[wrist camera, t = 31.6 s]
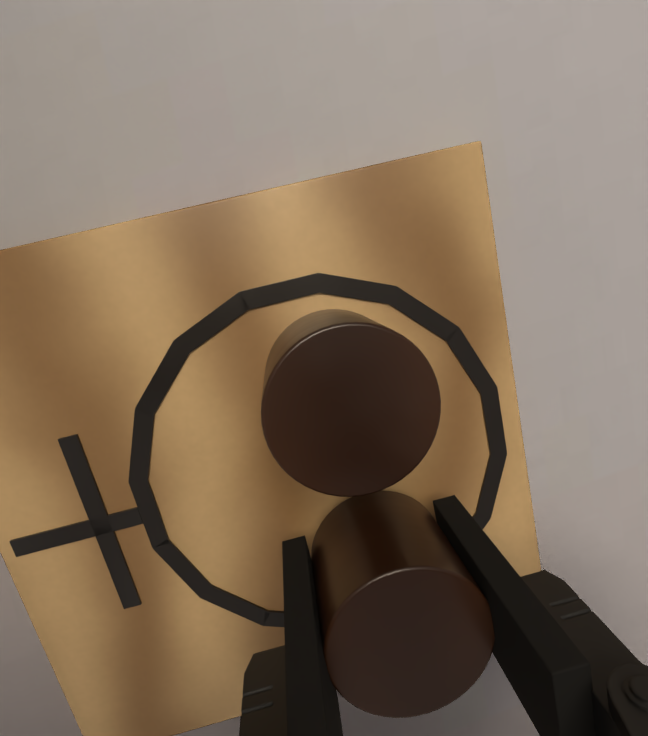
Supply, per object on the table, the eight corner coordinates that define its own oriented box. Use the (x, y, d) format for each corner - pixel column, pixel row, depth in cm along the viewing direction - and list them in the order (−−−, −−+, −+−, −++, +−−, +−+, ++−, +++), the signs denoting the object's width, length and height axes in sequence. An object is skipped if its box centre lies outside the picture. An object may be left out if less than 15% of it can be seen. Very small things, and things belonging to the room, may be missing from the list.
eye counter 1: (327, 622, 15) (345, 739, 12) (296, 509, 14) (304, 596, 11) (449, 587, 16) (507, 691, 12) (427, 474, 15) (482, 546, 11)
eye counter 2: (283, 454, 15) (285, 517, 11) (249, 327, 14) (238, 347, 10) (409, 422, 15) (455, 472, 11) (384, 294, 14) (425, 302, 10)
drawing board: (100, 738, 17) (91, 762, 17) (-101, 278, 13) (-128, 278, 13) (538, 612, 18) (551, 629, 18) (470, 147, 14) (483, 138, 14)
